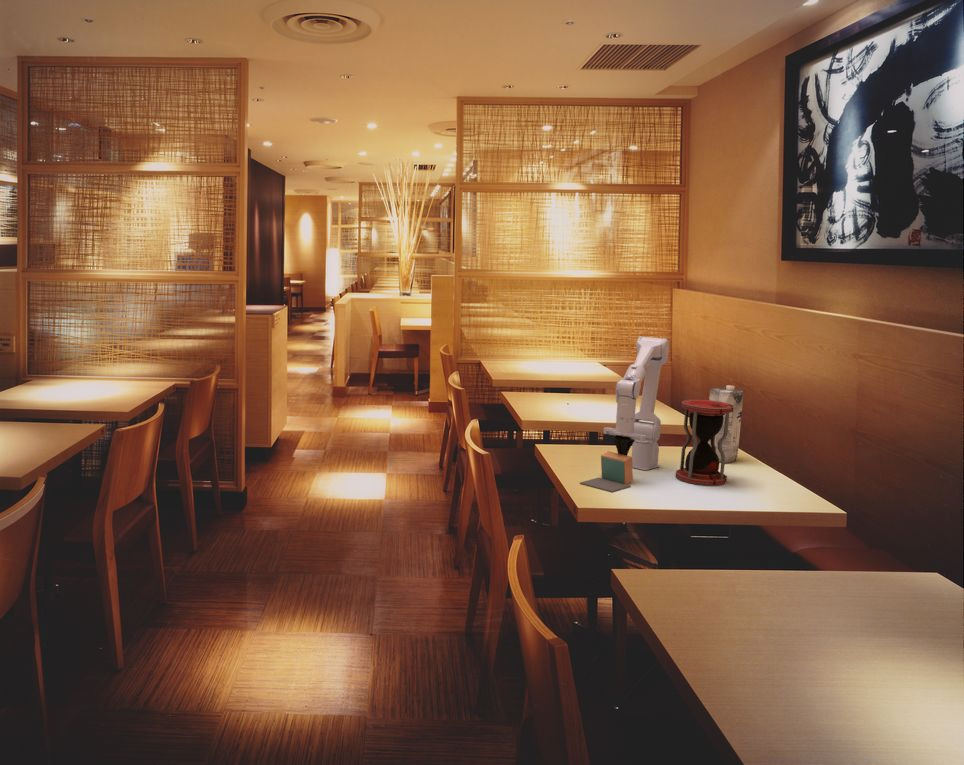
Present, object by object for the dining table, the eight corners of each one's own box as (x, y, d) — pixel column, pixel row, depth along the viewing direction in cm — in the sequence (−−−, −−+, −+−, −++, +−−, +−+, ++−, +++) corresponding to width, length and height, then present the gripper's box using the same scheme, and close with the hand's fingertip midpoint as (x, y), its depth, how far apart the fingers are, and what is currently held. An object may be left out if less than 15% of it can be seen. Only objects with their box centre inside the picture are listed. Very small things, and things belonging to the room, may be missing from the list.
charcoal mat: (598, 478, 268) (598, 477, 268) (630, 486, 260) (630, 485, 260) (579, 483, 261) (579, 482, 261) (612, 492, 253) (612, 491, 253)
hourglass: (710, 488, 263) (718, 410, 259) (665, 477, 274) (672, 401, 270) (735, 480, 274) (742, 405, 270) (691, 470, 285) (698, 397, 281)
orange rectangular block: (609, 474, 271) (608, 451, 269) (632, 480, 265) (632, 456, 263) (601, 478, 268) (600, 455, 266) (625, 485, 262) (624, 461, 260)
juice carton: (725, 464, 296) (732, 388, 292) (700, 458, 304) (707, 384, 300) (740, 461, 301) (747, 387, 297) (715, 455, 309) (722, 382, 305)
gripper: (599, 415, 268) (596, 456, 270) (638, 422, 258) (634, 466, 260) (611, 412, 273) (608, 453, 275) (650, 420, 263) (647, 462, 265)
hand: (622, 459), depth 268 cm, fingers closed
